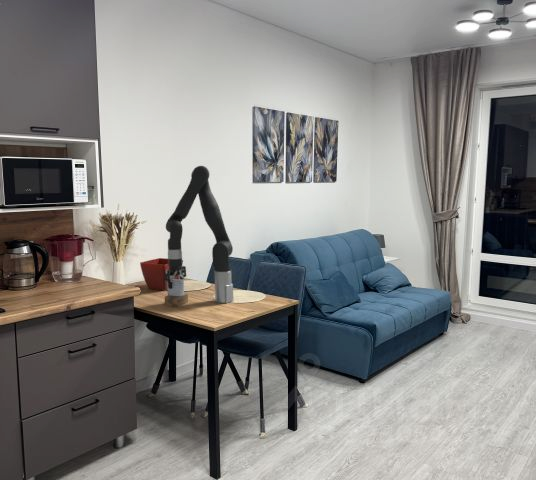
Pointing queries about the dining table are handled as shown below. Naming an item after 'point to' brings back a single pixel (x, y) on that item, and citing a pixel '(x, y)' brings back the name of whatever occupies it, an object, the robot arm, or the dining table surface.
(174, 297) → the walnut block
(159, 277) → the plant pot
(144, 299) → the dining table surface
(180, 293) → the medicine box
